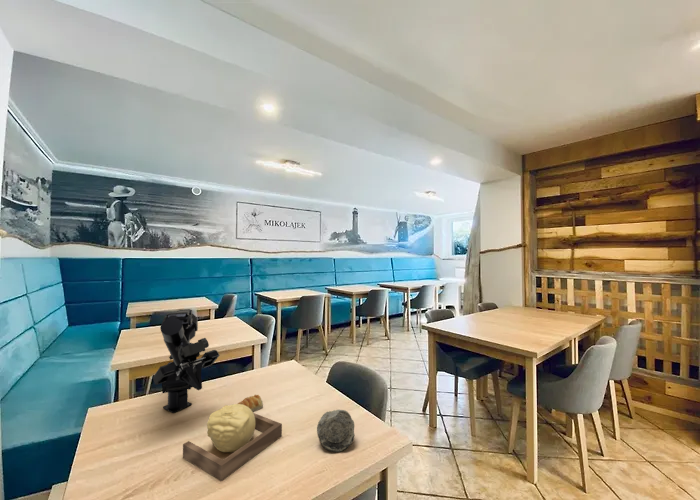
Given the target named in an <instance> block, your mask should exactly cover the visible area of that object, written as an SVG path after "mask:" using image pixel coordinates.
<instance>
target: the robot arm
mask: <svg viewBox="0 0 700 500" xmlns="http://www.w3.org/2000/svg"><path fill="white" fill-rule="evenodd" d="M198 327H199V322H198V317H197V316H196V315H195V314H193V310H192V309H190V308H187V309H179V310H177V311H176V312H167V313H166V316H164V317H163V320H162V321H161V325H160V332H161V335H162V338H163V342H164V344H165V346H166V348H167V350H168V352H169V354H170V355H169V356H168V359H169V360H170V362H168V363H167V364H165V365H160V366H159V368H158V369H157V371H156V372H155V373H154V375H153V377H152V378H153V379H152V380H153V382H154V385H156V386H158V385H160V384H161V390H162V391H161V394H166V393H167V404H166V405H164V406H163V407H162V408H163V409H164V410H166V411H168V412H170V413H173V414H174V413H176V412H179V411H181V410H184V409H185V408H188V407H190V406H192V402H190V401H189V400H188V398H189V397H188V394H189V393H188V390H192V388H194V389H195V390H197V391H201V390H202V389H203V382H202V381H203V380H202V369H205V368H207V367H210V366H212V365H214V363H215V362H216V360H217V359H218V358H219V357H220V353H219V351H218V350H216V349H212V350H209V351H206V349H207V348H209V346H210V344H209V340H207V338H206V337H204V338H203V337H202V338H200V339H198V340H197V342H194V343H192V342H191V340H192V339H194V338H195V337H196V332H198V329H199V328H198ZM203 352H204V353H203ZM200 353H203V355H202V356H201V354H200ZM200 356H201V357H200ZM198 357H199V358H198ZM171 360H173V361H171Z"/></svg>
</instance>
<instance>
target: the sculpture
mask: <svg viewBox="0 0 700 500" xmlns="http://www.w3.org/2000/svg"><path fill="white" fill-rule="evenodd" d="M253 413H254V411H253V412H252V410H251V409H250V408H249V407H247V406H245V405H242V404H238V403H235V404H234V403H233V404H229V405H228V404H225V405H224V406H223V407H221V408H219V409H217V410H215V411H213V412H211V414H210V415H209V418H208V421H206V422H207V423H206V428H207V431H206V432H207V437H209V438H210V440H211V443H212V444H213V445H214V447H215V448H216V449H217V450H218V451H219V452H222V453H234V452H235V451H237V450H238V449H240V448H241V447H243V446H244V445H245V444H247V443H248V442H250V441H251V440H252V438H253V436H254V433H255V430H256V429H255V424H256V422H255V416H254V414H253Z"/></svg>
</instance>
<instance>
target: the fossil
mask: <svg viewBox="0 0 700 500" xmlns="http://www.w3.org/2000/svg"><path fill="white" fill-rule="evenodd" d="M316 425H317V426H316V434H317V437H318V441H319V442H320V443H321V445H322V447H323V448H324V449H325V450H327V451H328V452H333V453H340V452H342V451H345V450H347V449H348V448H349V447H350V446H351V445H352V443H353V441H354V439H355V422H354V420H353V418H352V416H351V414H350V413H349V412H348V411H347V410H346V409H336V410H335V409H334V410H331V411H330V410H329V411H326V412H324V413H323V414H322V415H321V417H320V419H319V420H318V423H317V424H316Z"/></svg>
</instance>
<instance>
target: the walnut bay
mask: <svg viewBox="0 0 700 500" xmlns="http://www.w3.org/2000/svg"><path fill="white" fill-rule="evenodd" d="M253 414H254V416H255V422H256V424H255V430H257V431H259V432H261V433H260V434H259V435H258V436H255V438H253V439H251V440H250V441H249V442H248V443H247V444H245V445H244V446H243V447H241V448H240V449H238V450H237V451H235V452H231V454H229V455H228V456H226V457H225V458H223V459H222V458H221V457H219V456H217V455H215V454H213V453H212V452H210V451H208V450H206V449H205V448H203V447H200V446H199V445H196V444H195V443H193V442H192V441H189V440H188V441H186V442H184V443H182V459H184V460H185V461H188V462H189V463H191V464H193V465H194V466H196V467H197V468H199V469H201V470H202V471H204V472H205V473H207V474H210V475H211V476H213V477H214V478H215V479H217V480H220V481H221V482H222V481H224V480H225V479H226V478H227V477H230V475H232V474H233V473H234V472H235V471H237V470H238V469H239V468H241V467H242V466H243V465H245V464H247V462H249V461H250V460H252V459H253V458H254V457H256V456H257V455H258V454H260V453H261V452H263V451H264V450H265V449H266V448H268V447H269V446H271V444H273V443H274V442H276V441H277V440H279V439H280V438H281V437H282V436H283V424H282V422H278V421H275V420H273V419H271V418H268V417H265V416H263V415H260V414H258V413H255V412H253Z"/></svg>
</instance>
